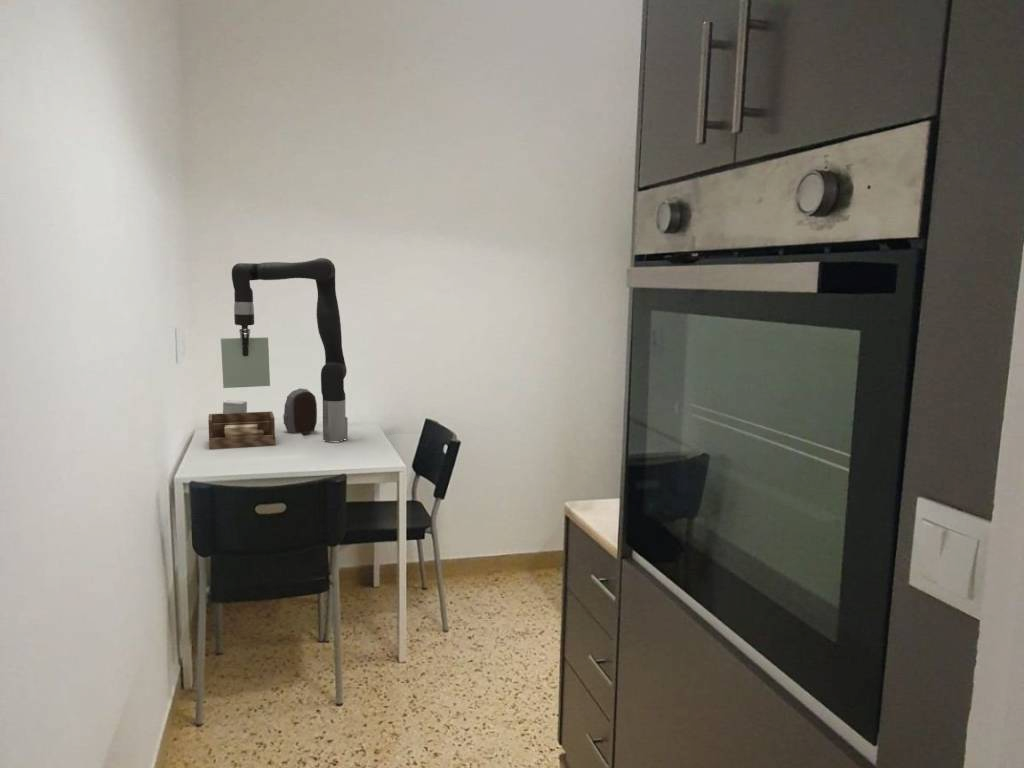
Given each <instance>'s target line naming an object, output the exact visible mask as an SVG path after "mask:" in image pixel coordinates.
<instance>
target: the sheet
mask: <svg viewBox="0 0 1024 768" xmlns="http://www.w3.org/2000/svg"><path fill="white" fill-rule="evenodd" d="M243 343H247V341H244V342H243ZM220 346H221V347H220V348H221V367H222V369H221V370H222V385H223V389H233V388H234V389H235V388H250V387H251V388H256V387H271V381H270V380H271V379H270V378H271V377H270V376H271V375H270V354H269V352H270V351H269V337H268V336H267V337H250V340H249V347H248V356H243V349H242V341H241V338H240V337H231V338H230V337H228V338H226V337H225V338H224V337H223V338H220Z"/></svg>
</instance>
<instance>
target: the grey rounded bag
mask: <svg viewBox="0 0 1024 768" xmlns="http://www.w3.org/2000/svg"><path fill="white" fill-rule="evenodd" d="M317 407H318V405H317V399H316V395H314V394H313V393H312V392H311V391H310V390H309V389H308V388H302V387H301V388H298V389H295V390H293V391H291V392H290V393H289V394H288V395H287V396H286V400H285V403H284V411H283V415H282V417H283V418H282V419H283V425H284V427H285V429H286V431H287V432H288V433H290V434H301V435H306V434H310V433H314V432H315V430H316V425H317V422H318V408H317Z"/></svg>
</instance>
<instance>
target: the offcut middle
mask: <svg viewBox="0 0 1024 768" xmlns="http://www.w3.org/2000/svg"><path fill="white" fill-rule="evenodd" d="M263 435H264V432H263V430H258V432H257V433H246V434H225V438H226V437H245V436H263Z"/></svg>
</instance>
